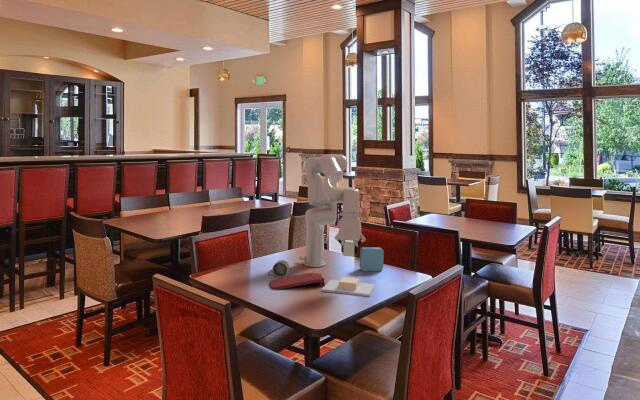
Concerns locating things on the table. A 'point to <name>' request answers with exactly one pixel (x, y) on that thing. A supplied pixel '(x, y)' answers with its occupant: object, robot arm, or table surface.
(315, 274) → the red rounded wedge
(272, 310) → the table surface
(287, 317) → the table surface
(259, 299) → the table surface
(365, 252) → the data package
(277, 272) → the ceramic mug
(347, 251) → the cream block
